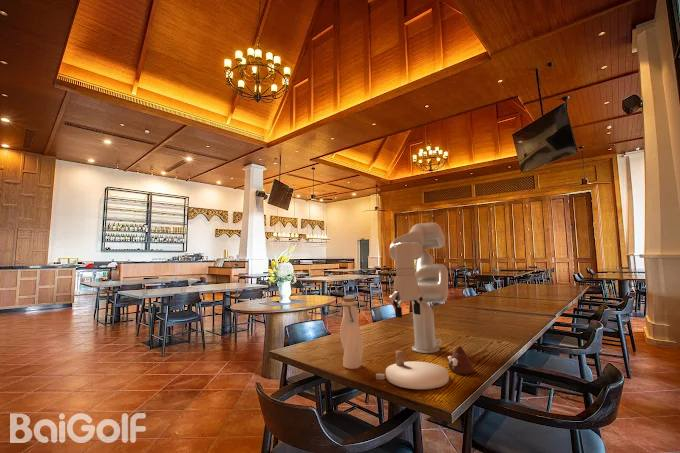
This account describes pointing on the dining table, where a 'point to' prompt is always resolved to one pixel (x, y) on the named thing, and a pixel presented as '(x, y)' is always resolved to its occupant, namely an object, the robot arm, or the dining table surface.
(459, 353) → the poop emoji
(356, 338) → the water bottle
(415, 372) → the turntable
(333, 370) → the dining table surface
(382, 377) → the pointer
